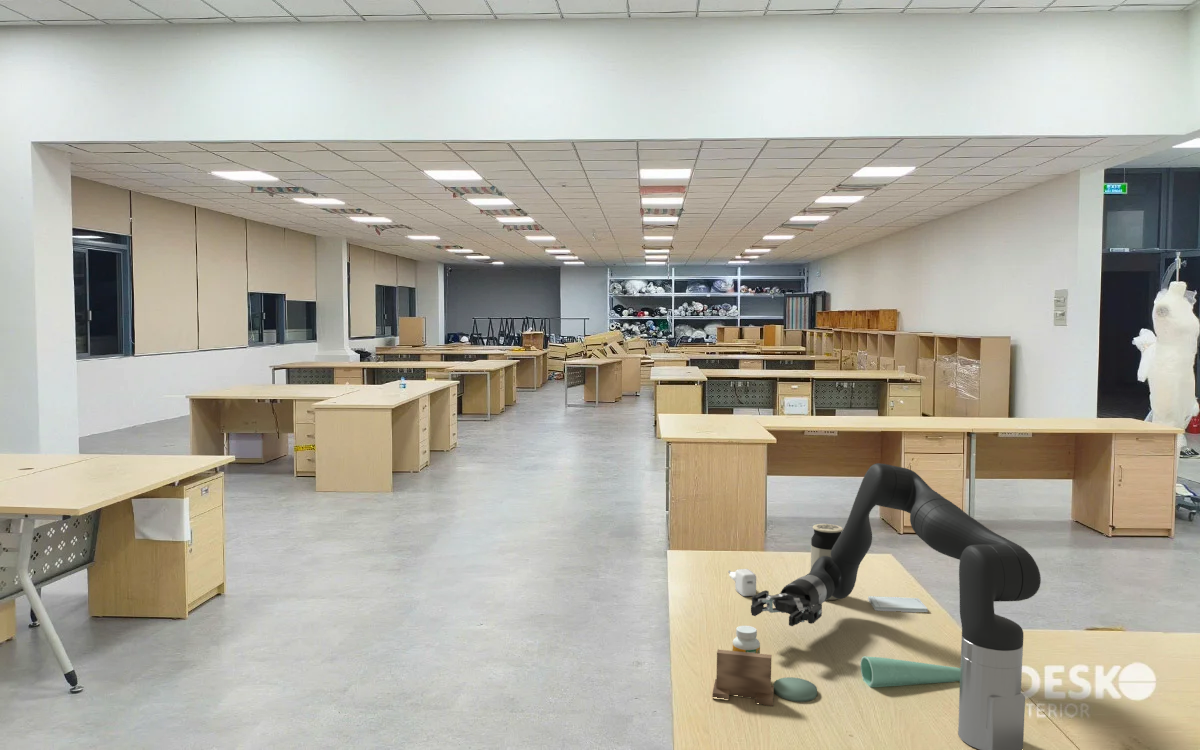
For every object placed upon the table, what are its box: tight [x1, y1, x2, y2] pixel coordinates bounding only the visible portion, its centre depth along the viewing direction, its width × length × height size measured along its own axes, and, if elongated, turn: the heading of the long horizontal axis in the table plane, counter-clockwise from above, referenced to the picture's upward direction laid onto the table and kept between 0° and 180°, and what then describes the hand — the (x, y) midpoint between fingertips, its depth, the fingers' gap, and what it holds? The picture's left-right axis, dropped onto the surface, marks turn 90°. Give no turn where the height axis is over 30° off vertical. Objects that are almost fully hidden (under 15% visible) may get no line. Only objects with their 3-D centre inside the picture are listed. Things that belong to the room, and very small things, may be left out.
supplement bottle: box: [732, 625, 761, 654], centre depth 157 cm, size 5×5×10 cm
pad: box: [773, 676, 818, 703], centre depth 151 cm, size 8×8×1 cm
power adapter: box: [727, 568, 757, 597], centre depth 209 cm, size 11×5×6 cm, turn 13°
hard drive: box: [867, 595, 928, 613], centre depth 199 cm, size 2×8×12 cm
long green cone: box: [860, 655, 960, 688], centre depth 156 cm, size 5×6×27 cm
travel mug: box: [810, 523, 844, 601], centre depth 205 cm, size 8×8×18 cm
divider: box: [711, 649, 775, 707], centre depth 149 cm, size 11×6×8 cm, turn 77°
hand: (771, 616), depth 166 cm, fingers open, 8 cm apart
